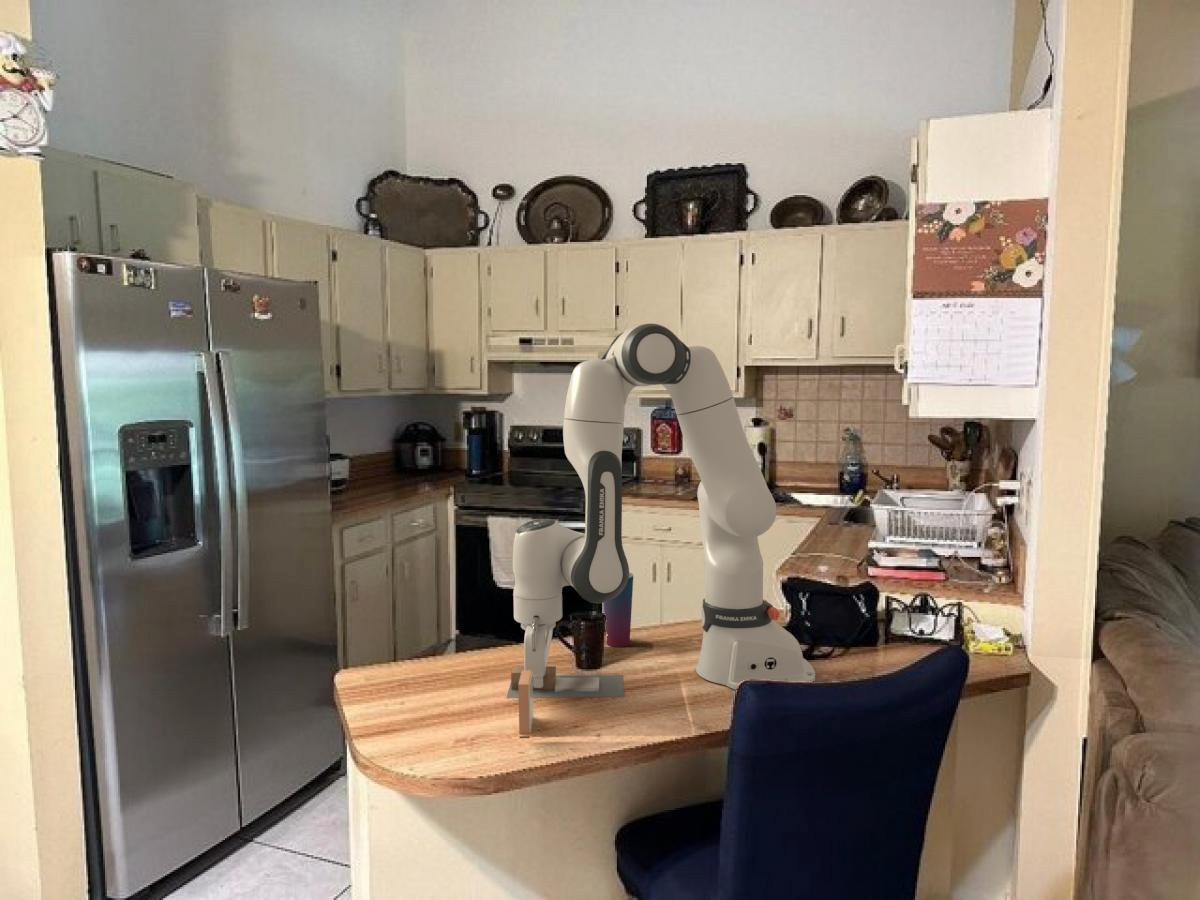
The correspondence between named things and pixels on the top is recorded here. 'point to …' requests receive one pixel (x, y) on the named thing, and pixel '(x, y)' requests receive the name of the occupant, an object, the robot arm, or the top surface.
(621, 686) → the rest mat
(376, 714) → the top surface
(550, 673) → the turner
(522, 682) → the tile
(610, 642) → the cup
